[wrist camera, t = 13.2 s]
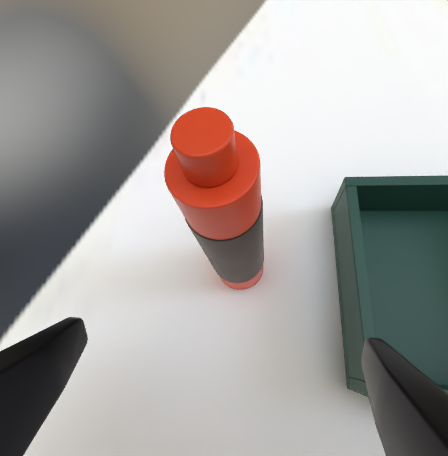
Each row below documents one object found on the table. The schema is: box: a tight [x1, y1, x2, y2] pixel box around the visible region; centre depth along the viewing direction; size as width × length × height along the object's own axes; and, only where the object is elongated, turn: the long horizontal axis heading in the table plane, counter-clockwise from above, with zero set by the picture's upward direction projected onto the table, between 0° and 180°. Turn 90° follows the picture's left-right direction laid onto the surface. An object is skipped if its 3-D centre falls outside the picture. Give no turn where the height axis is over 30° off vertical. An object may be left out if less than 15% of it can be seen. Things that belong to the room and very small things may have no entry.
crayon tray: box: [331, 176, 448, 397], centre depth 15 cm, size 11×10×4 cm
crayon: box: [164, 107, 264, 289], centre depth 13 cm, size 3×3×13 cm
